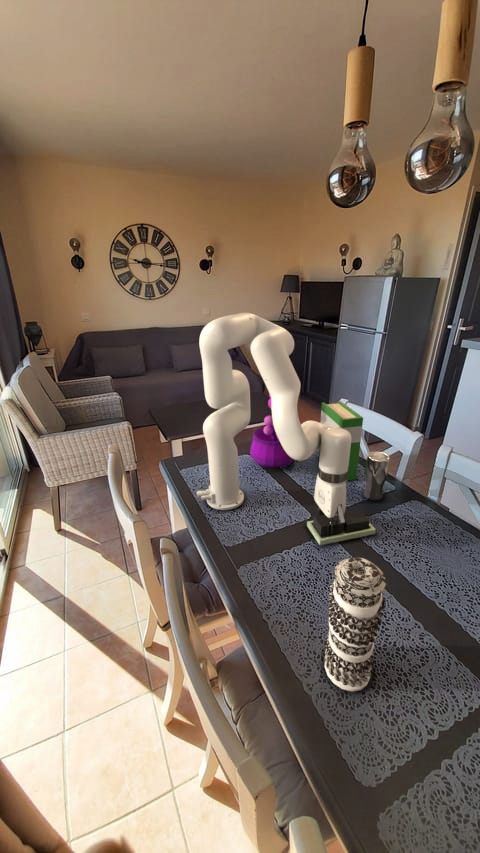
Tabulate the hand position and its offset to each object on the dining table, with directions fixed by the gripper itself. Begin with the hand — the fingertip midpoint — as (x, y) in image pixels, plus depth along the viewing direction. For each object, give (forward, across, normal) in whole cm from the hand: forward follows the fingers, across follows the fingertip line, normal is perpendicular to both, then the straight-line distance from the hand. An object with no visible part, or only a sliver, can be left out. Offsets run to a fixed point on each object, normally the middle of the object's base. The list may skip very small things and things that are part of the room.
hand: (327, 527), depth 103 cm
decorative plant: (+3, -45, -1) cm, 45 cm away
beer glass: (+2, -13, +23) cm, 27 cm away
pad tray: (+2, 0, +4) cm, 5 cm away
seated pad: (+2, 0, +8) cm, 8 cm away
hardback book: (+2, -33, +20) cm, 39 cm away
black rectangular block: (+1, 0, 0) cm, 1 cm away
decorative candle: (+2, +36, -14) cm, 39 cm away
